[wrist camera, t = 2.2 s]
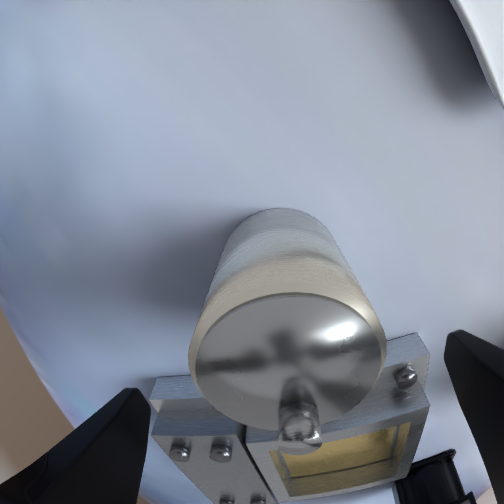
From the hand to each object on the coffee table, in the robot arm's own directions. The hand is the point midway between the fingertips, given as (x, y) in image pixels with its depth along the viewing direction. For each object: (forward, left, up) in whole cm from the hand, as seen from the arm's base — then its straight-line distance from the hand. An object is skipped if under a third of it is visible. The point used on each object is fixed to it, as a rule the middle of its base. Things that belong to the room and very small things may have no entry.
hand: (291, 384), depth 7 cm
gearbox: (+1, +13, -7) cm, 15 cm away
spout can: (0, 0, -7) cm, 7 cm away
